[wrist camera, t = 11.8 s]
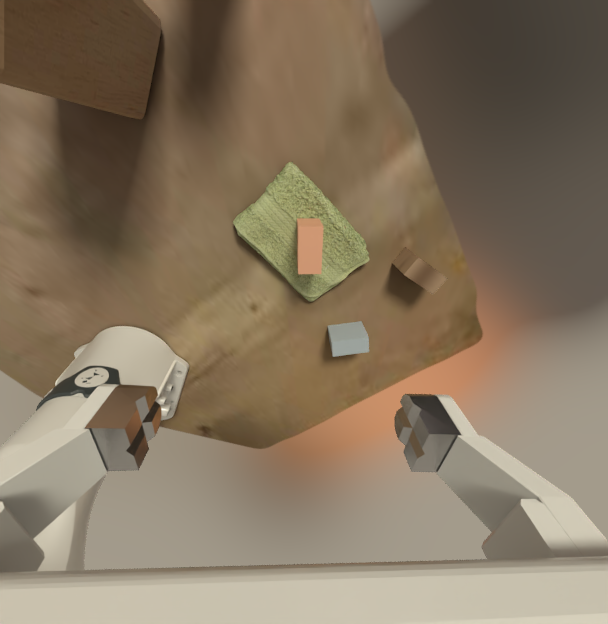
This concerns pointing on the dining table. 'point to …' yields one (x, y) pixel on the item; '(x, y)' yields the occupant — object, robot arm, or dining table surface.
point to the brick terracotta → (309, 245)
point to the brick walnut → (419, 271)
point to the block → (81, 51)
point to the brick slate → (348, 339)
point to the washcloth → (283, 232)
